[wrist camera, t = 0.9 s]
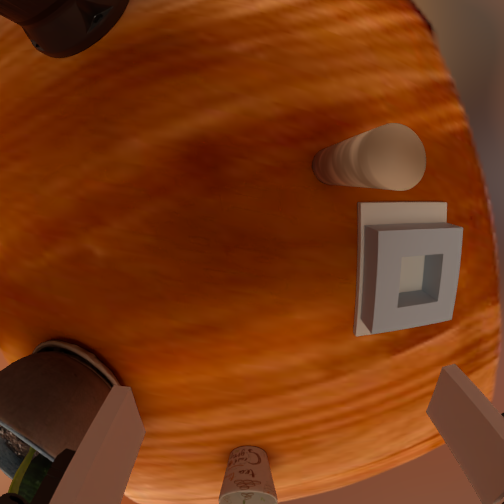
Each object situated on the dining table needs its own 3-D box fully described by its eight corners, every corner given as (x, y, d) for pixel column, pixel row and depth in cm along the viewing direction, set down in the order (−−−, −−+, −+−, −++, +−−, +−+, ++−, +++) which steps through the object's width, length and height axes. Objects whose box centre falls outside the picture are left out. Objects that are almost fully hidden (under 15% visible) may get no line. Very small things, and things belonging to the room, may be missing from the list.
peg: (311, 148, 30) (365, 120, 15) (346, 148, 30) (423, 126, 15) (313, 185, 31) (369, 190, 16) (348, 184, 31) (427, 191, 16)
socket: (357, 202, 32) (374, 206, 27) (442, 201, 32) (466, 206, 27) (353, 332, 35) (366, 353, 31) (431, 320, 35) (450, 336, 30)
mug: (277, 442, 40) (281, 491, 30) (267, 481, 43) (270, 523, 33) (223, 439, 40) (218, 489, 30) (222, 478, 43) (218, 521, 33)
